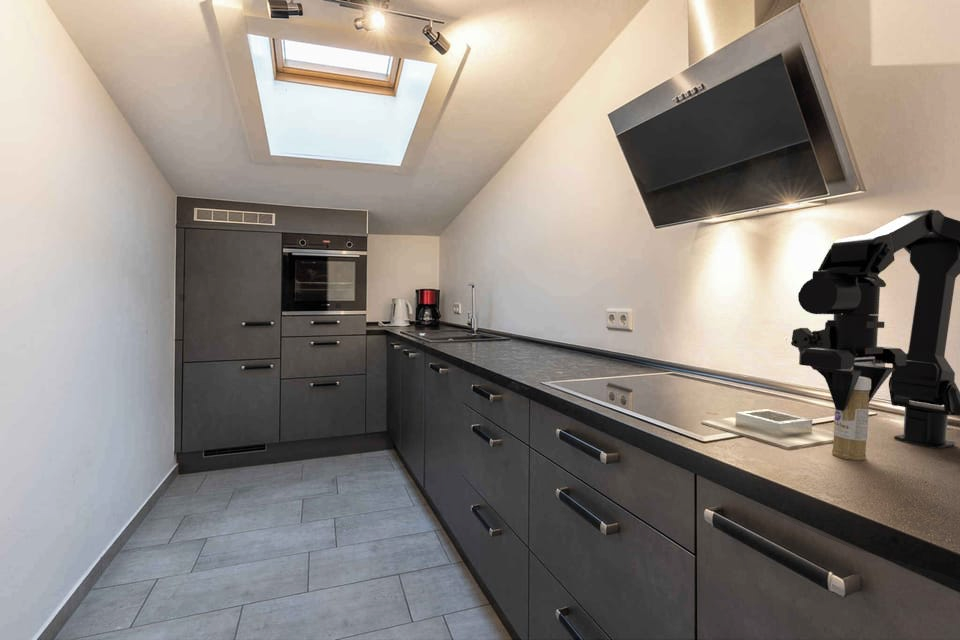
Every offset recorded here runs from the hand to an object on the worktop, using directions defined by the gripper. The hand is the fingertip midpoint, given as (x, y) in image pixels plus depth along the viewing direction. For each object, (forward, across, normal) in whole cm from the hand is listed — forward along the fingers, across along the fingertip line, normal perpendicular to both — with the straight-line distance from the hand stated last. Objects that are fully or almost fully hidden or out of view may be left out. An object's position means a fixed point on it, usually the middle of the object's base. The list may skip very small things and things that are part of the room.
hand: (850, 409), depth 76 cm
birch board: (+8, -3, -15) cm, 17 cm away
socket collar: (+8, -3, -15) cm, 17 cm away
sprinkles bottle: (+8, 0, 0) cm, 8 cm away
